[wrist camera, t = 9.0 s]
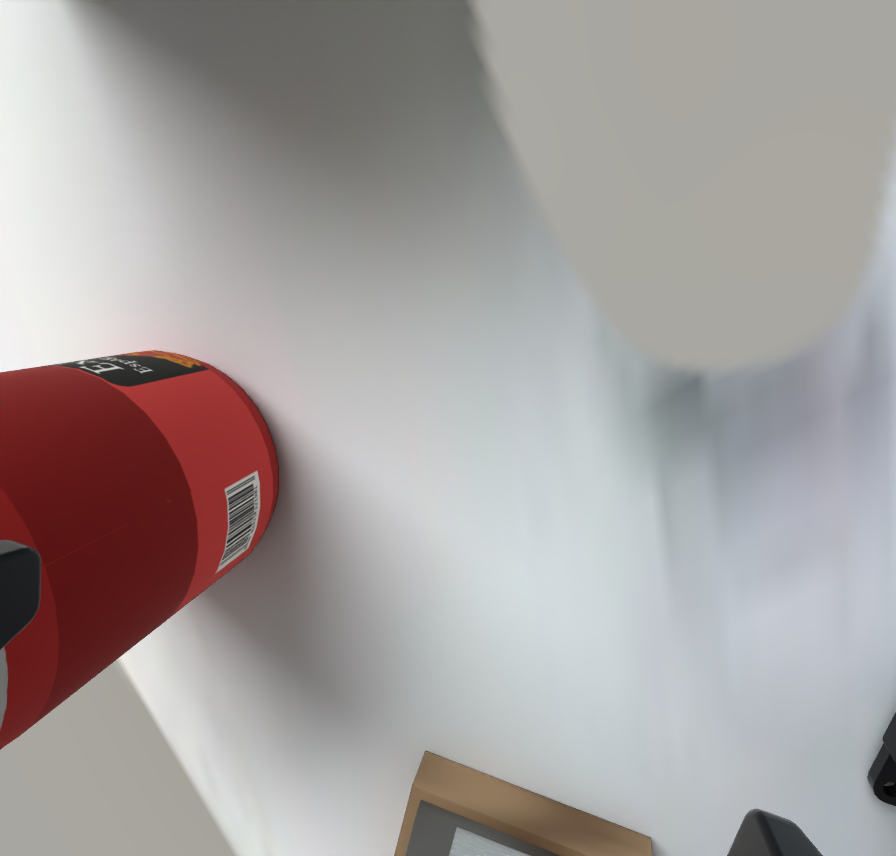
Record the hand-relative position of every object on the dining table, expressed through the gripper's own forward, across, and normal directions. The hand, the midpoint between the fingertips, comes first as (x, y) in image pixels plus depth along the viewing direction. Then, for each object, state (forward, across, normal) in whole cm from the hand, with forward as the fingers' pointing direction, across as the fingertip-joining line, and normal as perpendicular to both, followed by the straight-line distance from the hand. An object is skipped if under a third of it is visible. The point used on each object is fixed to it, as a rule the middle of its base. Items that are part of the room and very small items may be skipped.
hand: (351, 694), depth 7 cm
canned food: (+12, +11, +4) cm, 17 cm away
